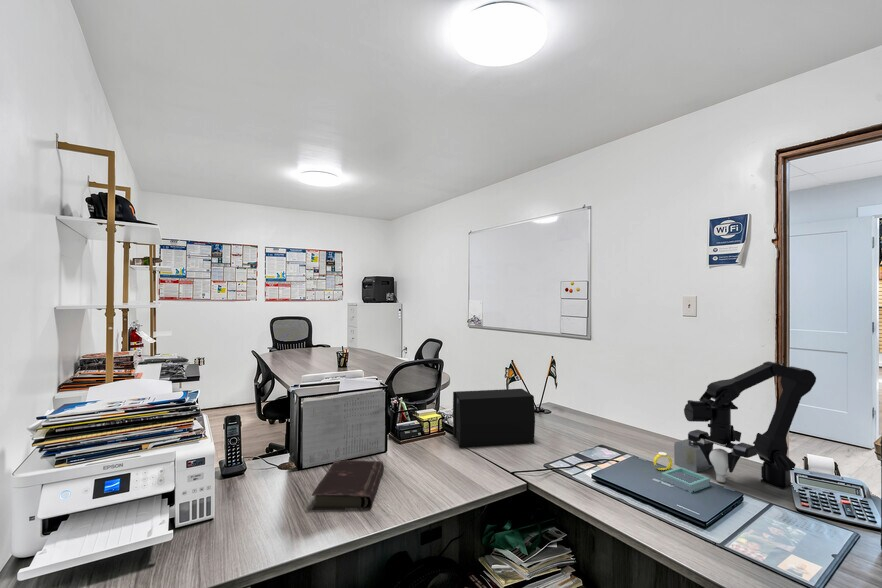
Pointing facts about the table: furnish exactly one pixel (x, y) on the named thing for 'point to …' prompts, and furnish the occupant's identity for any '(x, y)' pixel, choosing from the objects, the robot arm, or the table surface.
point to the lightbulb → (719, 463)
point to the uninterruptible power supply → (493, 417)
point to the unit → (690, 456)
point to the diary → (348, 485)
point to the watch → (662, 454)
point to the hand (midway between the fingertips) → (720, 468)
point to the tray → (685, 471)
